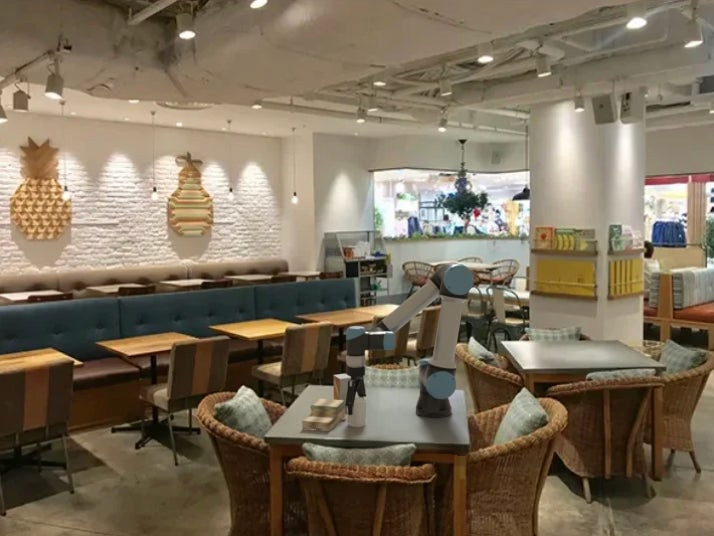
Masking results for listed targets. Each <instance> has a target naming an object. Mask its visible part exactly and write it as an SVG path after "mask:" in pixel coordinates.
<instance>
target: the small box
mask: <svg viewBox="0 0 714 536" xmlns="http://www.w3.org/2000/svg"><path fill="white" fill-rule="evenodd" d="M332 377H333V400H344V401H345V404H346V396H347V389H348V381H350V380H351V377H350V376H348V375H347V374H346V373H340V374H333V376H332ZM345 404H344V408H347V406H345Z"/></svg>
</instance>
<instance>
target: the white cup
mask: <svg viewBox="0 0 714 536" xmlns="http://www.w3.org/2000/svg"><path fill="white" fill-rule="evenodd" d="M354 413H355V423H348V422H347V424H348V426H349V427H351V428H361V427H364V426H365V425H366V416H367V415H366V413H367V400H366V399H365V398H364V399H363V398H357V397H355V401H354Z"/></svg>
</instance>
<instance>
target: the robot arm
mask: <svg viewBox="0 0 714 536" xmlns="http://www.w3.org/2000/svg"><path fill="white" fill-rule="evenodd" d="M473 286H474V275H473V272H472V271H471V270H470V269H469V267H467V266H466V265H465V264H462V263H457V262H453V261H451V262H447V263H445V264H443V265H441V266H440V267H439V268H438V269H437V270H436V271H435V272H434V273H433V274H432V275H431V276H429V277H428V279H427V282H426V283H425V284H424V285H423V286H422V287H420V288H418V289H417V290H416V291H415V292H414V293H413V294H411V296H409V297H408V298H407V299H406V300H404V302H402V303H401V304H400V305H398V306H397V307H396V308H395V309H393V310H392V311H391V312H390V313H389V314H388V315H386V316H385V317H384V318H383V319H382V320H381V321H380V322H378V323H377V324H375V325H372V326H371V327H370V328H369V330H368V331H367V330H366V328H365V327H364V326H360V325H358V326H357V325H353V326H349V327H348V328H347V329H346V335H345V336H346V337H345V341H346V343H345V344H346V346H345V347H346V348H345V350H346V351H345V352H346V356H345V357H344V358H345V359H346V368H345V369H346V373H345V374H347V375H348V376H350V377H351V380H350V381H348V389H347V396H346V404H345V406H347V407H346V414H347V417H346V422H347V424H348V423H355V413H354V401H355V398H363V399H365V398H366V397H367V392H366V386H365V379H364V376H365V375H366V366H365V365H366V351H367V352H370V351H393V350H395V348H396V335H395V334H396V333H397V332H398V331H399V330H400V329H402V328H403V327H404V326H405V325H406V324H407V323H409V322H410V321H411V320H412V319H413V318H415V317H416V316H417V315H418V314H419V313H421V312H422V311H424V309H426V308H427V307H428V306H429V305H430V304H432V302H434V301H436V299H438V298H439V297H440V299H441V303H440V310H439V316H438V323H437V329H436V332H435V333H436V334H435V339H434V341H435V342H434V347H433V353H432V358H423V359H421V360H420V361H419V367H418V368H419V396H418V397H417V398H418V399H417V402H416V406H415V413H416V415H419V416H421V417H426V418H442V417H443V418H444V417H447V416H450V415H452V408H453V407H452V405H451V403H450V399H449V398H450V397H452V396H453V395H454V393H455V391H456V390H457V379H456V375H457V374H456V373H457V367H458V366H457V365H456V363H455V356H456V350H457V345H458V344H457V343H458V338H459V332H460V326H461V318H462V313H463V308H464V307H463V306H464V304H465V302H467V301H468V300H469V294H470V291H471V290H472V287H473ZM356 395H357V397H356Z"/></svg>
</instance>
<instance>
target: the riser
mask: <svg viewBox="0 0 714 536" xmlns="http://www.w3.org/2000/svg"><path fill="white" fill-rule="evenodd" d="M344 404H345V401H344V400H334V398H333V399H330V398H318V399H317V400H316V401H315V402H313V403H312V404H311V405H310V411H311V413H310V414H309V415H308V416H306V417H305V418H304V419H302V420H301V422H302V426H301V427H302V428H303V429H314V430H313V431H315V429H316V430H324V431H323V432H327V431H329V430H330V431H331V430H332V429H334V427H336V425H338V423H340V422H346V421H347V417H346V415H345V407H344ZM303 429H302V430H303ZM330 431H329V432H330Z"/></svg>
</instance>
